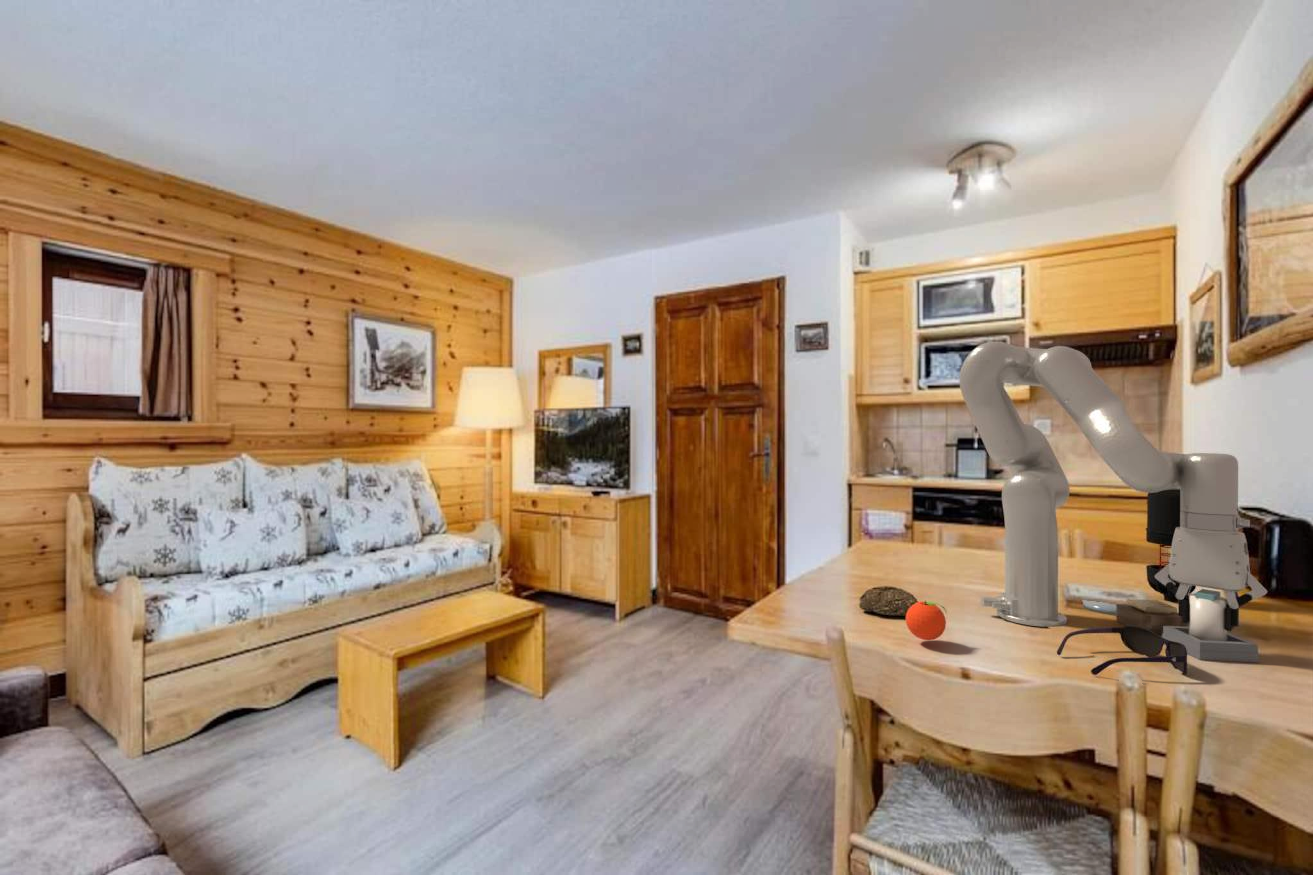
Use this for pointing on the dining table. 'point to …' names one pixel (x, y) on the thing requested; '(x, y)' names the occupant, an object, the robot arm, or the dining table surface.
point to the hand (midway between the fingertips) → (1207, 624)
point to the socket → (1213, 646)
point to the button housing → (1147, 619)
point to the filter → (1162, 533)
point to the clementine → (926, 620)
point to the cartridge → (1207, 615)
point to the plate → (1100, 607)
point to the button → (1151, 606)
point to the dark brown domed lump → (887, 600)
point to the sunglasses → (1140, 647)
